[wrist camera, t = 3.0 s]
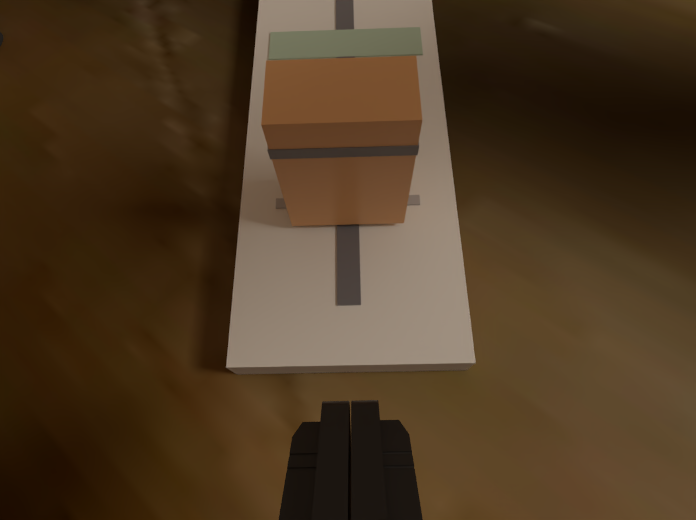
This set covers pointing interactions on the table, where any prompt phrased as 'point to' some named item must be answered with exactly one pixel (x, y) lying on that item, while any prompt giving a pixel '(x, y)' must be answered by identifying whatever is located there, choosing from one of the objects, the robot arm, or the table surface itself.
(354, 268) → the white slider board
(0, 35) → the phone
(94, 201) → the table surface
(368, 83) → the fader tab
